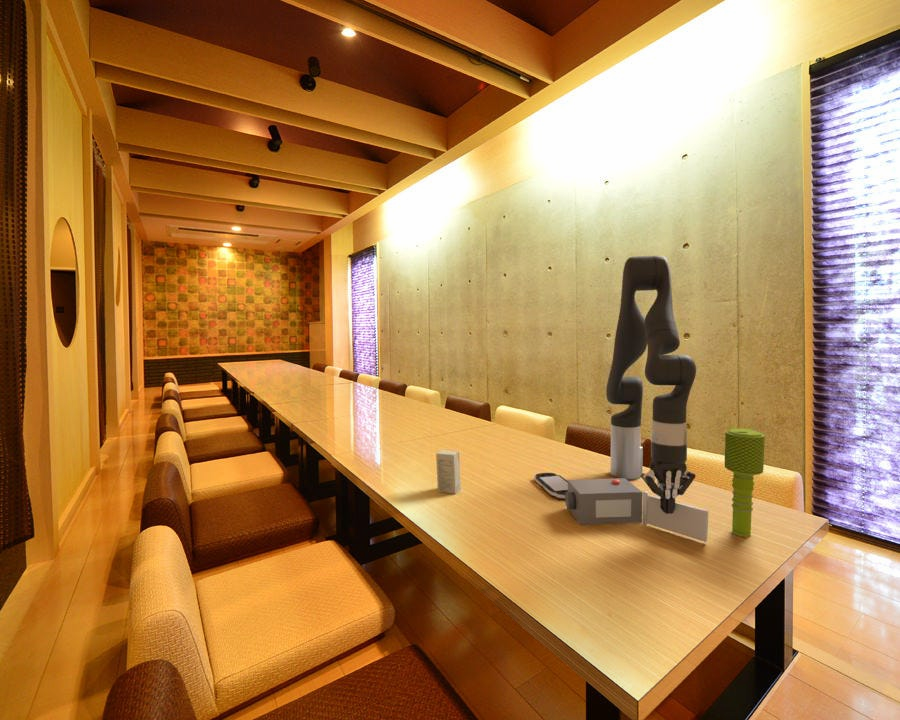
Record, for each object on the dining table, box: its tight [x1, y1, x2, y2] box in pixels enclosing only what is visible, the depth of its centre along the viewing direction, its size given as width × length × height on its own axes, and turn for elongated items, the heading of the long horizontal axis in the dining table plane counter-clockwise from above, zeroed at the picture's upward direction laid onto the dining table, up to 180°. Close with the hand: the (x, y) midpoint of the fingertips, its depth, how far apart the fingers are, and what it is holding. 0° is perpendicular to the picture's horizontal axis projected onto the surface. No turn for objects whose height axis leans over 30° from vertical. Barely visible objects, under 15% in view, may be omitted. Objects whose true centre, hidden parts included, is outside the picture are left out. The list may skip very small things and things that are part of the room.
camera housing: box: [564, 477, 643, 526], centre depth 112 cm, size 10×18×9 cm, turn 92°
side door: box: [642, 490, 709, 543], centre depth 102 cm, size 2×14×8 cm, turn 43°
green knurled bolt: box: [723, 428, 766, 538], centre depth 101 cm, size 8×8×25 cm
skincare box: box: [435, 449, 462, 495], centre depth 131 cm, size 6×4×12 cm
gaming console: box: [534, 472, 568, 501], centre depth 132 cm, size 19×9×2 cm, turn 11°
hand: (667, 512), depth 100 cm, fingers closed
